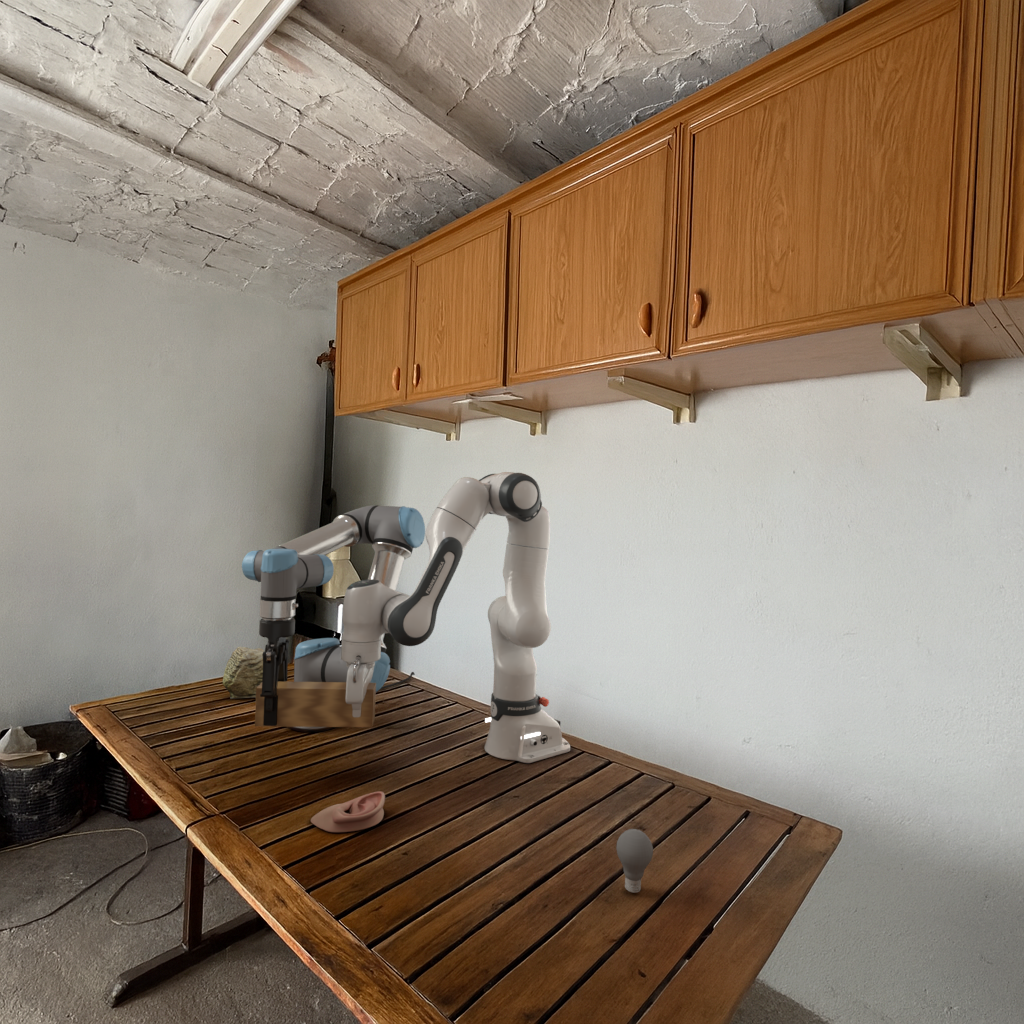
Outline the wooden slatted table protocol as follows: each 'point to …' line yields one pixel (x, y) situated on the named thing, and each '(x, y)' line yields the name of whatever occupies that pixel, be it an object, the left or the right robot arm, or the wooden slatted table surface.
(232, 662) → the fossil
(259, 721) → the bar
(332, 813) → the anatomical model
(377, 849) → the wooden slatted table surface
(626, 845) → the light bulb
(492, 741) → the right robot arm
